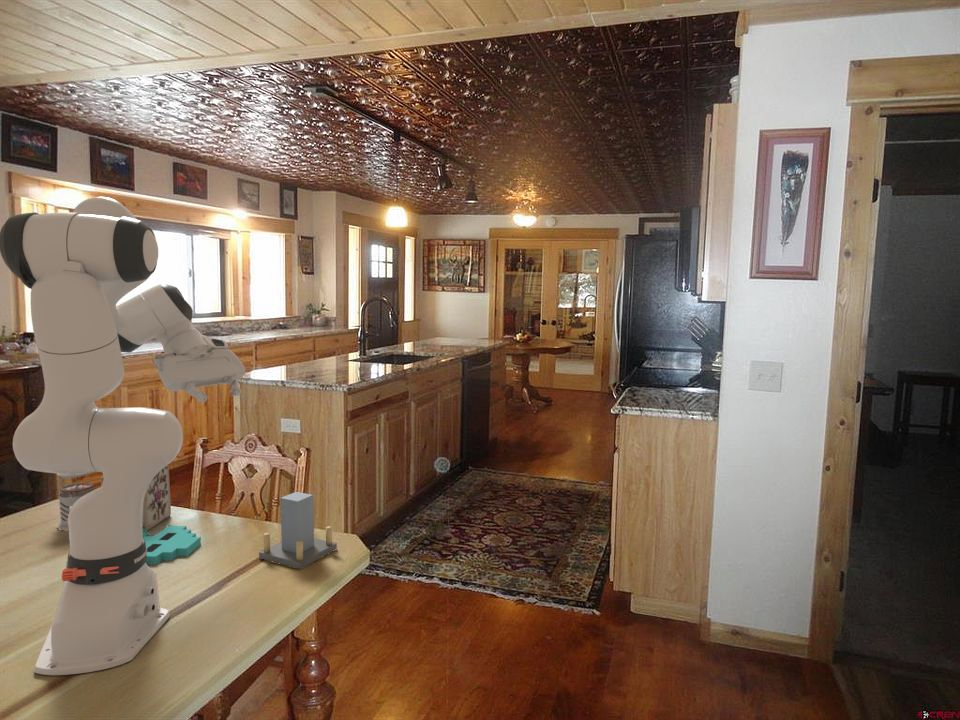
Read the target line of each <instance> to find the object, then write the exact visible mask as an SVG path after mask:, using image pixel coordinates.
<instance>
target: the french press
mask: <svg viewBox="0 0 960 720" xmlns="http://www.w3.org/2000/svg"><path fill="white" fill-rule="evenodd" d="M92 473H94V472H84V473H62V474H56V475H57V476H58V477H60V478H61V479H60V489H59V491H60V493H59V494H58V500H59V502H58V503H59V511H60V512H59V515H60V519H59V520H60V521H59V523H58V524H57V525H58V526H57V525H56V527H58V529H61V530H69V525H68V514H69V511H70V509H71V507H72V506H73V504H74V503H75V502H76V501H77V500H78V499H79V498H81V497H82V496H84V495H86V494H88V493H89V492H91V491H93V490H95V488H93V486H94V484H93V483H92V482H78V477H84V476H87V475H90V474H92ZM63 478H64V479H65V481H67V484H66V485H64V486H63V484H62V483H63ZM74 478H75V483H71V484H70V483H69V482H70V480H72V479H74ZM58 529H57V530H58ZM61 530H60V531H61Z"/></svg>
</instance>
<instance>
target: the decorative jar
mask: <svg viewBox="0 0 960 720" xmlns="http://www.w3.org/2000/svg"><path fill="white" fill-rule="evenodd" d="M103 480H104V478H103V475H102V476H101V477H100V487H101V486H102V485H103ZM170 484H171V483H170V471H169V466H168V465H167V466H165V467H164V468H163V469H162V470H160V471H159V472H158V474H157V475H156V476H155V477H154V478H153V480H152V481H151V483H150V484H149V486H148V488H147V491H146V494H145V497H144V502H143V516H142V529H146V532H148V531H149V530H151V529H152V528H154V527H155V526H157V525H159V524H160V523H161V522H163V521H164V520H166V519H167V518H169V517H170V516H171V514H172V513H171V511H172V508H171V507H172V506H171V505H172V504H171V503H172V502H171V485H170Z"/></svg>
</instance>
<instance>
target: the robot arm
mask: <svg viewBox="0 0 960 720" xmlns="http://www.w3.org/2000/svg"><path fill="white" fill-rule="evenodd" d="M0 256H1V258H2V260H3V262H4V264H5V265H6V266H7V268H8V269H9V271H10V272H11V273H12V274H13V275H14V276H15V277H16V278H18V279H19V280H21V282H22V283H23V285H24V286H25V287H27V288H28V289H31V290H30V315H31V317H30V318H31V324H32V329H33V335H34V340H35V344H36V347H37V352H38V356H39V359H40V365H41V369H42V375H43V376H42V377H43V380H44V392H43V397H42V400H41V402H40V403H39V405H38V406H37V408H36V409H35V410H34V411H33V412H32V413H30V414H29V415H27V416H26V417H25V418H24V419H22V421H21V422H20V423H19V425H18V426H17V428H16V430H15V431H14V435H13V437H12V450H13V453H14V456H15V459H16V460H17V462H19V464H20V465H21V466H22V467H23V468H24V469H26V470H27V471H28V470H29V471H35V472H41V473H49V474H50V473H51V474H56V475H57V474H62V473H84V472H93V473H102V476H103V478H104V480H103V485H102V486H101V485H100V487H97V488H96V489H95V488H94V490H93V491H91V492H88V493H85V494H83V496H82V497H81V498H79V499H78V500H77V501H76V502H75V503H74V504H73V506H70V511H69V514H68V525H69V531H68V539H69V540H68V541H69V552H68V553H67V560H66V564H65V568H64V569H62V570H61V571H62V572H61V580H62V582H63V587H62V590H61V594H60V597H59V600H58V604H57V607H56V610H55V613H54V616H53V617H54V618H53V621H52V623H51V625H50V629H49V631H48V633H47V636H46V637H45V641H44V643H43V646H42V647H41V650H40V652H39V655H38V656H37V660H36V662H35V665H34V673H35V674H38V675H42V676H43V675H45V676H69V675H77V674H85V673H92V672H93V673H94V672H98V671H102V670H106V669H110V668H111V669H112V668H115V667H118V666H120V665H124V664H126V663H128V662H130V661H132V660H133V659H134V658H135V657H136V656H137V654H138V653H140V651H141V650H142V649H143V647H145V645H146V644H148V642H149V641H150V640H151V639H152V637H153V636H154V635H155V634H156V633H157V632H158V631H159V630H160V629H161V628H162V626H163V625H164V624H165V622H167V621H168V620H169V618H170V616H171V615H170V611H169V609H167V608H165V607H164V608H163V607H161V602H160V601H161V600H160V594H159V593H160V592H159V585H158V579H157V578H158V576H157V572H155V571H154V570H152V569H151V568H150V566H148V564H146V561H147V547H146V542H145V540H144V539H143V531H142V516H143V502H144V497H145V494H146V491H147V488H148V486H149V484H150V483H151V481H152V480H153V478H154V477H155V476H156V475H157V474H158V472H159V471H160V470H162V469H163V468H164V467H165V466H168V465H170V464H171V463H172V462H173V460H175V458H176V457H178V455H179V453H180V451H181V448H182V446H183V442H184V432H183V427H182V425H181V423H180V421H179V419H178V418H177V416H175V414H174V413H173V412H172V411H170V410H164V409H158V408H152V407H144V406H138V407H137V406H136V407H133V406H131V407H99V406H97V405H96V403H95V402H96V401H98V400H100V399H102V398H104V397H106V396H108V395H109V394H111V393H113V392H114V391H115V390H116V389H117V388H118V387H119V386H120V385H121V383H122V382H123V380H124V376H125V371H126V369H125V365H124V359H123V356H122V355H123V354H122V353H130V354H131V353H132V352H134V351H135V350H137V349H139V348H140V347H142V346H143V345H144V344H146V343H148V342H150V341H151V340H153V339H154V338H155V340H156V341H157V342H159V343H160V344H161V346H162V349H163V351H164V353H165V354H156V355H155V356H154V357H153V358H152V360H151V361H152V365H153V366H154V367H155V369H156V370H157V374H158V376H159V378H160V381H161V383H162V384H163V386H164V388H165V389H166V390H168V391H170V392H178V391H185V393H187V394H188V395H190V396H191V397H192V398H195V399H196V401H197V402H198V404H199V403H204V402H207V400H208V397H209V396H208V394H206V392H205V391H201V390H200V389H198V388H204V387H211V386H216V385H223V384H227V385H228V386H231V389H230V390H229V393H230V394H231V396H232V397H238V396H240V395H241V393H242V390H241V388H240V387H239V382H240V381H241V380H242V378H243V377H244V376H245V375H246V367H245V365H244V364H243V362H242V361H241V360H240V359H239V357H238V356H237V355H236V354H235V352H233V350H231V349H228V348H229V344H228V342H227V341H225V340H223V339H218V338H214V337H210V336H207V335H203V334H202V333H201V332H200V330H198V329H197V328H195V326H194V323H193V321H192V320H193V313H194V310H193V308H192V306H191V305H190V304H189V302H187V301H186V300H185V298H184V296H183V294H182V292H181V291H180V290H179V288H177V287H176V286H173V285H169V284H166V283H160V284H157V285H154V286H152V287H150V288H148V289H147V290H144V291H142V292H140V294H138V295H135V296H133V297H132V298H129V299H128V300H126V301H124V302H122V303H119V304H118V302H119V301H120V300H121V299H122V298H124V296H126V295H127V294H129V293H130V292H132V291H133V290H135V289H136V288H137V287H139V286H141V285H142V284H143V283H144V282H146V281H147V280H148V279H149V278H150V277H151V275H153V274H154V273H155V271H156V268H157V265H158V259H159V246H158V241H157V238H156V235H155V233H154V231H153V229H152V228H151V227H150V226H149V225H147V223H145V222H144V221H142V220H140V219H137V217H136V216H134V214H133V213H132V212H131V211H130V210H129V209H128V208H127V207H126V206H125V205H123V204H122V203H121V202H119V201H118V200H116V199H114V198H110V197H106V196H94V197H91V198H89V197H88V198H87V199H85V200H83V201H81V202H80V203H78V204H77V205H76V207H74V209H73V210H72V212H48V213H47V212H46V213H45V212H44V213H38V212H35V211H33V212H26V213H19V214H15V215H13V216H10V217H8V218H7V220H6V221H5V222H4V224H3V225H2V227H1V229H0ZM117 304H118V305H117Z"/></svg>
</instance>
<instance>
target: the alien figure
mask: <svg viewBox="0 0 960 720" xmlns="http://www.w3.org/2000/svg"><path fill="white" fill-rule="evenodd" d="M187 527H188V526H187V525H168V526H166V527H165V528H164V529H162V530H161V531H159V532H157V533H156V534H155V535H151V532H148V531H146V529H142V531H143V539H144V540H145V542H146V547H147V561H146V564H147V565H158V564H159V563H161V562H162V561H173V560H175V559H176V558H177V557H188V556H189V555H190V554H191V553H192V552H194V551H195V550H197V548H199V547H200V546H201V545H202V543H201V540H202V539H201V536H197V535H196V534H197V533H196V532H195V533H193V532H192V529H188V528H187Z"/></svg>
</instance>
